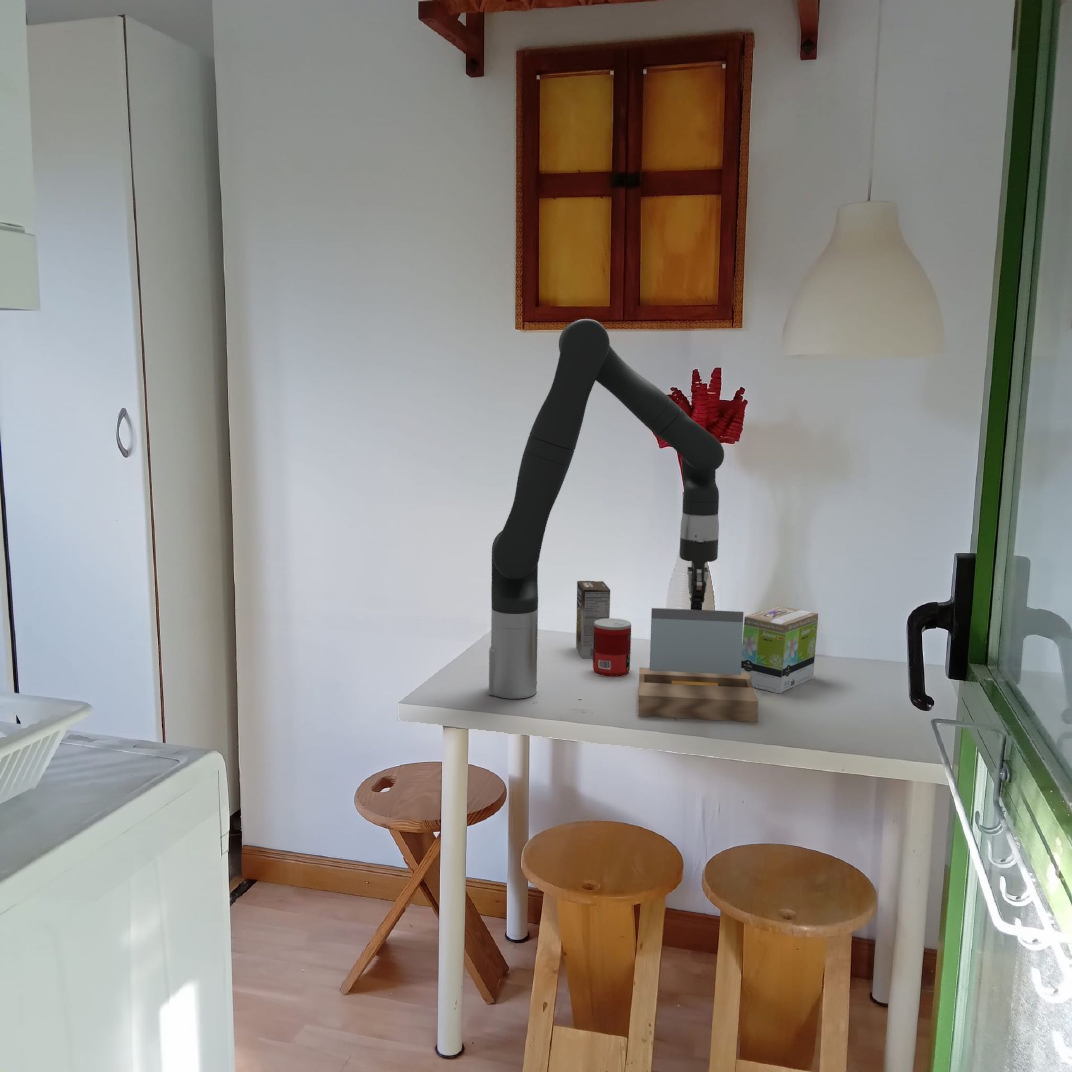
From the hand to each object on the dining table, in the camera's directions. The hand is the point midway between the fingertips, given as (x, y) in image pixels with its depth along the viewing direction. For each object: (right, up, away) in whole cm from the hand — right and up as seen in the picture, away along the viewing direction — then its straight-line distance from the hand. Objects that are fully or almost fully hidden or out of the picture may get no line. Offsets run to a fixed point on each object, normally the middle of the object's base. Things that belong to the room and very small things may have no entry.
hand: (695, 620), depth 196 cm
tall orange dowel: (-1, -15, -2) cm, 15 cm away
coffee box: (-19, -10, +28) cm, 36 cm away
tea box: (+19, -14, +9) cm, 25 cm away
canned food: (-16, -13, +14) cm, 25 cm away
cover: (0, -4, -3) cm, 5 cm away
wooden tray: (-1, -16, -5) cm, 17 cm away
